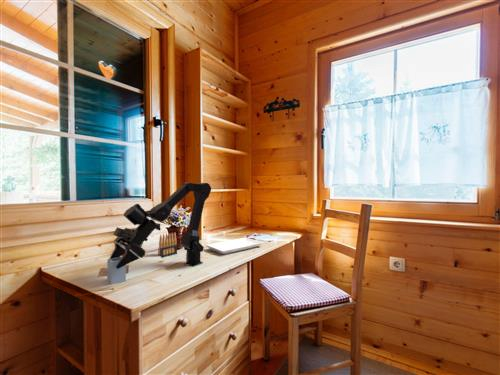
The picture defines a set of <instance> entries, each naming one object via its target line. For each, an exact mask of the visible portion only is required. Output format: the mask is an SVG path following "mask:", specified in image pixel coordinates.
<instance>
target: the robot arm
mask: <svg viewBox="0 0 500 375" xmlns="http://www.w3.org/2000/svg"><path fill="white" fill-rule="evenodd" d="M190 192H193V197H194V198H193V199H194V203H193V207H192V208H191V209H192V210H191V214H190V219H189V222H188V227H187V230H186V231H182V233H181V238H180V244H181V245H182V247H183V248H184V250H185V251H186V256H185V259H186V260H185V261H186V262H185V261H184V263H183V264H184V265H187V266H191V267H195V266H198V265H201V264H203V263H204V262H203V261H202V260H201V253H202V252H203V251H204V249H205V248H204V245H202V243H201V242H200V239H201V238H200V233H199V229H200V225H201V219H202V216H203V210H204V206H205V201H206V200H207V199H208V198H209V196H210V194H211V192H212V186H211V184H210V183H207V182H197V183H192V182H183V183H182V184H181V186H180V187H178V188H177V189H176V190H175V192H173V193H172V194H171V195H169V197H168V198H166V199H165V200H164V201H162V202H161V203H160V202H159V203H158V204H156V205H154V206H153V207H151V208H150V209H148V210H144V208H143V207H142V206H141V205H140V204H139V203H135V204H134V205H132V206H131V207H129V208H127V209H126V210H125V212H124V213H123V217H124V218H125V219H126V220H128V221H129V222H130V223H131V224H133V225H134V226H136V225H137V227H136V228H135V229H134V228H132V229H131V228H128V227H125V228H121V227H118V226H117V227H116V228H115V231H114V232H113V234H112V235H113V236H115V239H114V242H113V244H114V249H113V250H112V253H111V255H110V257H109V258H108V259H111V258H116V257H122V255H123V254H124V256H123V257H122V259H121V260H120V261H119V263H118V264H117V266H116V268H117V269H119V268H121V267H123V266H125V265H126V266H127V265H129V264H131V263H132V262H134V261H137V260H140V259H143V258H144V257H145V255H146V250H145V249H144V248H142V247H140V245H141V244H142V243H143V244H144V242H148V240H149V239H148V237H149V236H150V235H151V234H152V233H153V231H154V230H156V231H161V224H160V223H159V222H165V221H166V220H167V219H168V218H169V216H170V215H171V214H172V210H173V208H175V207H176V206H177V204H179V203H180V202H181V201H182V200H183V199H184V198H185V197H186V196H187V195H188V194H189V193H190ZM149 218H150V219H149ZM157 222H158V223H157ZM143 244H142V245H143ZM129 249H130V250H129Z"/></svg>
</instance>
